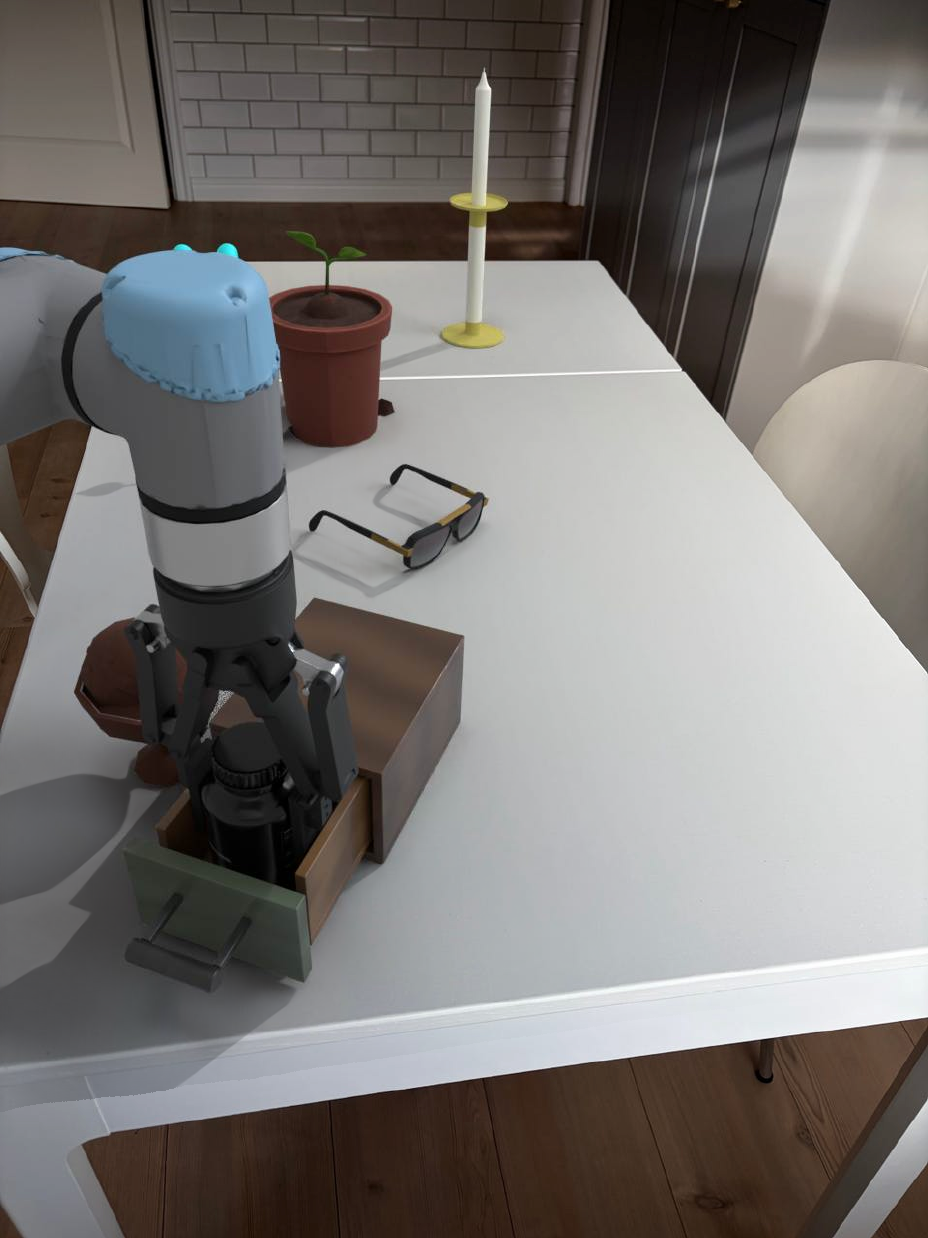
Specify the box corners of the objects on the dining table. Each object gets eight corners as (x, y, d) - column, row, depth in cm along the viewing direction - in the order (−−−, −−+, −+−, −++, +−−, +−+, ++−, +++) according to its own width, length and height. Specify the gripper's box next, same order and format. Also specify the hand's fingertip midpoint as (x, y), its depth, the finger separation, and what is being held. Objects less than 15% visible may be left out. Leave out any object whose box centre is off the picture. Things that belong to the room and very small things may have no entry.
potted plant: (254, 456, 123) (233, 250, 107) (266, 382, 140) (249, 196, 125) (397, 454, 124) (396, 251, 109) (392, 382, 141) (390, 198, 126)
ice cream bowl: (263, 746, 83) (245, 602, 74) (168, 834, 75) (135, 685, 66) (169, 700, 87) (141, 558, 78) (69, 778, 79) (25, 631, 70)
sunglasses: (391, 483, 118) (390, 445, 115) (494, 527, 111) (496, 489, 108) (308, 531, 109) (306, 491, 106) (415, 582, 102) (415, 542, 99)
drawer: (265, 1054, 61) (253, 981, 56) (94, 987, 64) (69, 913, 59) (397, 815, 76) (397, 742, 72) (255, 771, 79) (245, 698, 75)
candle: (443, 322, 160) (449, 59, 138) (504, 325, 160) (521, 63, 138) (439, 346, 152) (445, 71, 130) (504, 349, 152) (521, 75, 130)
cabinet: (383, 864, 74) (381, 774, 68) (223, 812, 77) (208, 722, 71) (460, 721, 86) (464, 635, 80) (319, 682, 90) (313, 596, 84)
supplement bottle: (197, 895, 68) (172, 772, 61) (239, 820, 73) (220, 700, 66) (292, 917, 67) (278, 795, 59) (327, 840, 72) (318, 719, 65)
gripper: (417, 559, 54) (414, 837, 68) (110, 486, 59) (166, 759, 73) (359, 638, 48) (369, 923, 62) (25, 550, 53) (104, 832, 67)
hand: (260, 834), depth 68 cm, fingers closed on supplement bottle, 7 cm apart
